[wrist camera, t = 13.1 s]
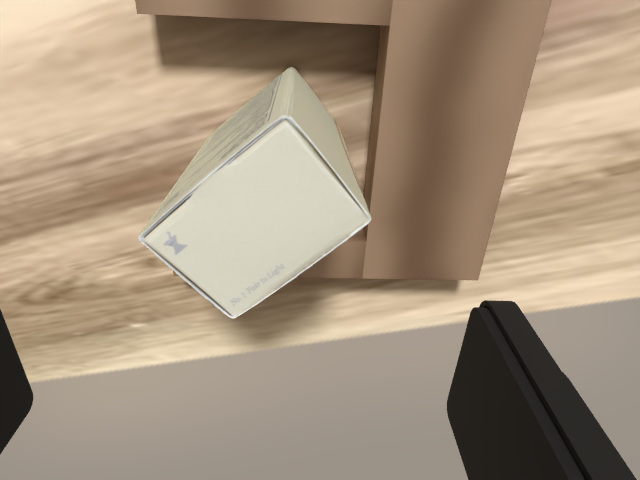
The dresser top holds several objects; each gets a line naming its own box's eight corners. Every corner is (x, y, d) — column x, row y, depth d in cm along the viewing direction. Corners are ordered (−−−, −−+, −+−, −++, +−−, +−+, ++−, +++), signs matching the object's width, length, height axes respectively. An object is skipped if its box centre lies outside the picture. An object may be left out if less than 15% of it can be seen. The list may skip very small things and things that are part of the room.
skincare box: (259, 192, 26) (230, 328, 15) (204, 133, 24) (128, 242, 13) (344, 125, 24) (379, 226, 13) (292, 57, 22) (285, 111, 12)
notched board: (532, -29, 21) (560, -32, 19) (464, 258, 29) (477, 280, 26) (146, -51, 20) (127, -57, 18) (183, 253, 28) (173, 275, 25)
